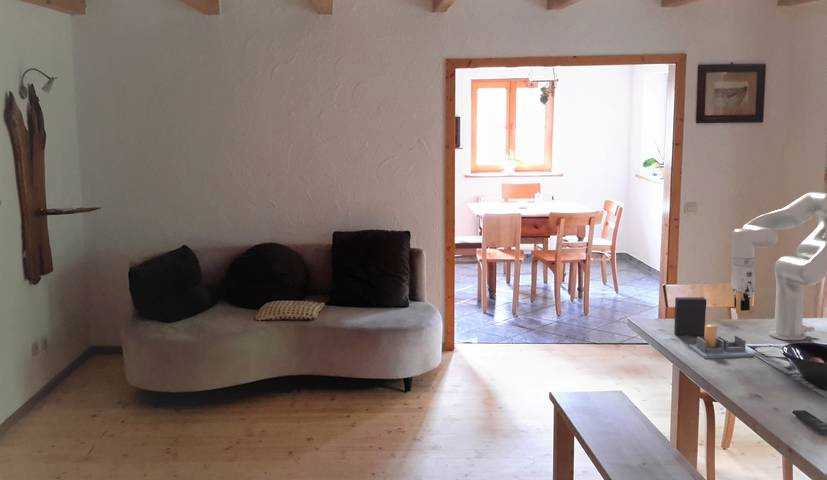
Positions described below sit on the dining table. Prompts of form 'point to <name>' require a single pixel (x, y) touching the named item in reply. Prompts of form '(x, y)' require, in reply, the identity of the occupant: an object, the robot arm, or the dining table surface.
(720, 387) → the dining table surface
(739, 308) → the tan capsule rod
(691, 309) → the dark grey slab
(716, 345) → the housing
